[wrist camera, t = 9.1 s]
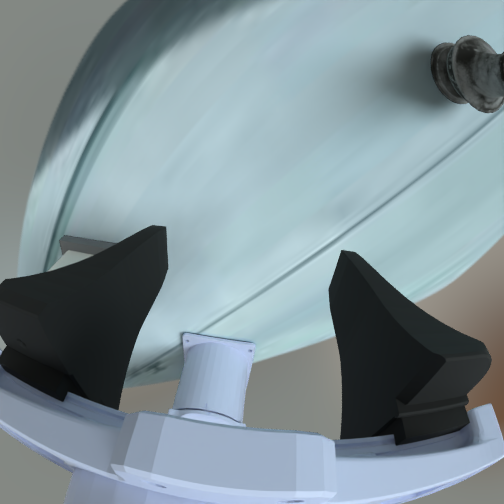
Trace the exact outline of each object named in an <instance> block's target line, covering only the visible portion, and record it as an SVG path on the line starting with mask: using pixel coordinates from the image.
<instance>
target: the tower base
mask: <svg viewBox="0 0 504 504" xmlns="http://www.w3.org/2000/svg"><path fill="white" fill-rule="evenodd" d="M59 242H60V246H61V250H62V254H63V256H62V257H61V258H60V259H59V260H58V261H57V262H56V263H55V264H54V265H53V266H52V267H51V268H50V269H49V270H48V271H52V270H55V269H58V268H61V267H64V266H67V265H70V264H73V263H76V262H79V261H81V260H84V259H86V258H88V257H91V256H93V255H95V254H97V253H99V252H101V251H103V250H105V249H107V248H109V247H111V246H113V245H115V244H116V243H109V242H103V241H97V240H90V239H84V238H78V237H72V236H65V235H64V236H63V237H62V238H61V239H60V240H59ZM48 271H47V272H48Z"/></svg>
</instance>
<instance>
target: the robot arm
mask: <svg viewBox="0 0 504 504" xmlns="http://www.w3.org/2000/svg"><path fill="white" fill-rule="evenodd" d="M167 270H168V255H167V235H166V227H164V226H155V225H152V226H149V227H147V228H145V229H143V230H141V231H139V232H137V233H135V234H134V235H132V236H130V237H128V238H126V239H124V240H123V241H121V242H119V243H117V244H115V245H113V246H111V247H109V248H107V249H105V250H103V251H101V252H99V253H97V254H95V255H93V256H91V257H88V258H86V259H84V260H81V261H79V262H76V263H73V264H70V265H67V266H64V267H61V268H58V269H55V270H52V271H48V272H44V273H40V274H35V275H31V276H25V277H19V278H12V279H5V280H4V281H3V282H2V283H1V284H0V336H1V337H2V339H3V341H4V342H5V344H6V345H7V346H6V348H5V349H4V351H2V350H1V349H0V428H1V429H3V430H4V431H6V432H7V433H8V434H10V435H11V436H12V437H14V438H15V439H17V440H18V441H20V442H21V443H22V444H24V445H25V446H27V447H28V448H30V449H32V450H33V451H35V452H36V453H38V454H40V455H41V456H43V457H45V458H46V459H48V460H50V461H52V462H53V463H55V464H57V465H58V466H60V467H62V468H64V469H66V470H68V471H70V472H72V473H73V474H72V477H71V480H70V483H69V487H68V490H67V493H66V497H65V500H64V504H401V503H404V502H408V501H411V500H414V499H417V498H420V497H423V496H426V495H428V494H431V493H434V492H437V491H439V490H442V489H445V488H447V487H450V486H452V485H454V484H457V483H459V482H461V481H463V480H465V479H467V478H469V477H471V476H473V475H475V474H477V473H478V472H480V471H482V470H484V469H486V468H487V467H489V466H491V465H492V464H494V463H496V462H497V461H499V460H500V459H502V458H503V457H504V441H503V437H502V434H501V431H500V428H499V424H498V422H497V418H496V416H495V413H494V410H493V407H492V405H491V404H486V405H483V406H480V407H476V408H474V409H471V410H470V411H468V412H466V409H465V405H467V404H468V402H469V400H468V397H467V393H468V392H469V391H470V390H471V389H472V388H473V387H474V386H475V385H476V384H477V383H478V382H479V381H480V380H481V379H482V378H483V377H484V375H485V374H486V373H487V371H488V370H489V368H490V365H491V361H492V359H491V356H490V354H489V352H488V350H487V348H486V346H485V345H484V343H483V342H481V341H479V340H477V339H474V338H472V337H470V336H467V335H465V334H463V333H461V332H459V331H457V330H455V329H453V328H451V327H449V326H447V325H445V324H444V323H442V322H440V321H438V320H437V319H435V318H434V317H432V316H430V315H429V314H427V313H426V312H425V311H423V310H422V309H420V308H419V307H417V306H416V305H415V304H414V303H412V302H411V301H410V300H408V299H407V298H406V297H405V296H403V295H402V294H401V293H400V292H399V291H398V290H396V289H395V288H394V287H393V286H392V285H391V284H390V283H389V282H387V281H386V280H385V279H384V278H383V277H382V276H381V275H380V274H379V273H378V272H377V271H376V270H375V269H374V268H373V267H372V266H371V265H370V264H368V263H367V262H366V261H365V260H364V259H363V258H362V257H361V256H360V255H358V254H357V253H356V252H351V251H345V250H341V253H340V256H339V259H338V262H337V266H336V269H335V272H334V275H333V278H332V281H331V284H330V286H329V302H330V311H331V316H332V320H333V325H334V330H335V334H336V339H337V344H338V349H339V354H340V361H341V375H342V423H341V435H340V440H331V439H329V438H327V437H325V436H323V435H321V434H319V433H314V432H304V431H297V430H277V429H262V428H251V427H246V424H243V423H242V422H243V411H244V402H245V392H246V388H247V384H248V379H249V374H250V370H251V366H252V361H253V357H254V352H255V344H253V343H249V342H241V341H234V340H227V339H221V338H214V337H208V336H202V335H196V334H191V333H184V334H183V336H182V339H183V351H184V361H185V364H184V367H183V371H182V374H181V378H180V382H179V385H178V389H177V393H176V396H175V400H174V404H173V408H172V409H169V411H168V414H165V413H157V412H150V411H140V412H135V413H131V414H128V413H125V412H122V411H118V409H119V404H120V398H121V393H122V389H123V384H124V380H125V376H126V372H127V368H128V365H129V361H130V358H131V354H132V351H133V348H134V345H135V342H136V339H137V336H138V334H139V331H140V329H141V327H142V325H143V323H144V321H145V319H146V317H147V315H148V313H149V311H150V309H151V307H152V305H153V303H154V301H155V299H156V297H157V295H158V293H159V291H160V289H161V287H162V284H163V282H164V279H165V276H166V273H167ZM250 349H251V350H250Z"/></svg>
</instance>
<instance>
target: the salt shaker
mask: <svg viewBox="0 0 504 504" xmlns="http://www.w3.org/2000/svg"><path fill="white" fill-rule="evenodd" d="M431 71H432V75H433V78H434V81H435V83H436V85H437V87H438V88H439V89H440V91H441V92H442V94H444V95H445V96H446V97H447V98H448V99H449V100H451V101H453V102H455V103H459V104H466V103H470V105H471V106H473V107H474V108H475V109H477V110H478V111H481V112H484V113H493V112H495V111H497V110H499V108H500V107H501V106H502V105H503V103H504V52H503V53H502V54H497V53H496V52H495V51H494V50H493V48H492V47H491V46H490V45H489V44H488V43H486V42H485V41H484V40H483V39H481V38H478V37H476V36H470V35H467V36H464V37H461V38H460V39H459V40H458V41H457V42H456V44H453V43H443V44H440V45H438V46H437V47H436V48H435V49H434V51H433V53H432V57H431Z"/></svg>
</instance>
